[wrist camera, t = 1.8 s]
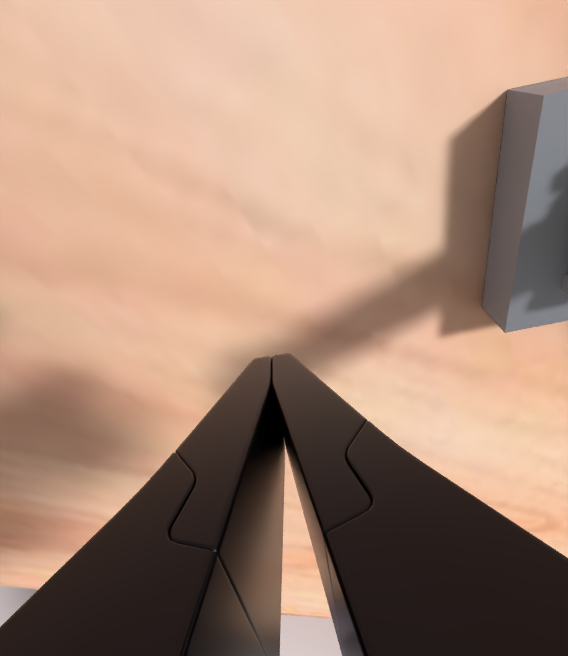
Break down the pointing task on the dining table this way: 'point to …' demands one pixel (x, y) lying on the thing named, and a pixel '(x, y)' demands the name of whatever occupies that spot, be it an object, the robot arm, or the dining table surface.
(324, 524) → the robot arm
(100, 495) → the dining table surface
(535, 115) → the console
